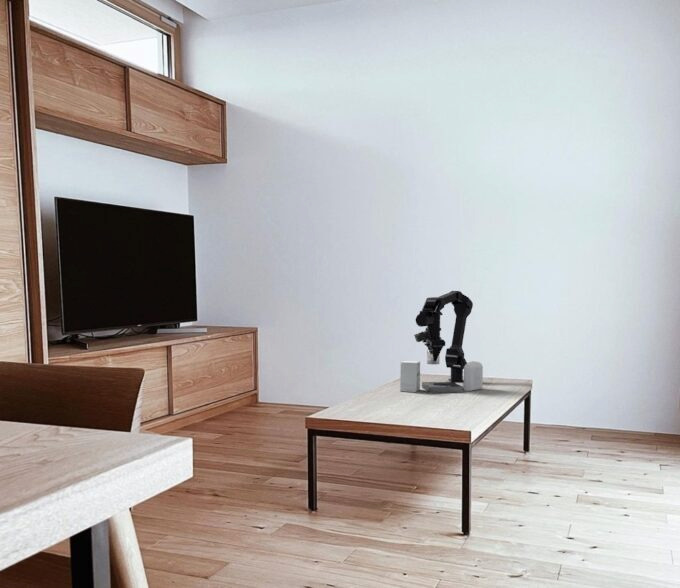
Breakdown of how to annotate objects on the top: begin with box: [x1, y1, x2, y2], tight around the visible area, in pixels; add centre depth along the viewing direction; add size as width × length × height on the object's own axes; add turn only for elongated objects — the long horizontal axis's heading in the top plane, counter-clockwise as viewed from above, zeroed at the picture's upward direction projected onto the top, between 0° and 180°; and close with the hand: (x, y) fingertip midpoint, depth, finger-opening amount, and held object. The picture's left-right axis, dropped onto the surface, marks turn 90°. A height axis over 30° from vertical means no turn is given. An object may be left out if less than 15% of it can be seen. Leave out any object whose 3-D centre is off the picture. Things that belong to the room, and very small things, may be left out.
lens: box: [426, 349, 440, 365], centre depth 306 cm, size 6×6×6 cm
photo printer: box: [462, 360, 484, 392], centre depth 297 cm, size 10×4×12 cm, turn 134°
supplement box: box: [399, 360, 421, 393], centre depth 294 cm, size 7×7×13 cm
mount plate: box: [421, 381, 463, 394], centre depth 296 cm, size 14×14×2 cm
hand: (433, 360), depth 306 cm, fingers closed on lens, 5 cm apart
